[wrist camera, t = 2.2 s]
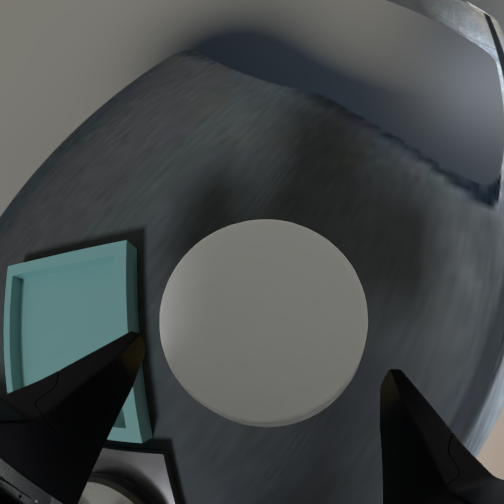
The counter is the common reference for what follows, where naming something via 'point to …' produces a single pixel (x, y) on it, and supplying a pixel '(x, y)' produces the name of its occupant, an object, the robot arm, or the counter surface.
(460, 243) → the counter surface
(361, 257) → the counter surface
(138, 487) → the block
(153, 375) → the counter surface
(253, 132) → the counter surface
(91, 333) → the tray
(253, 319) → the supplement bottle
